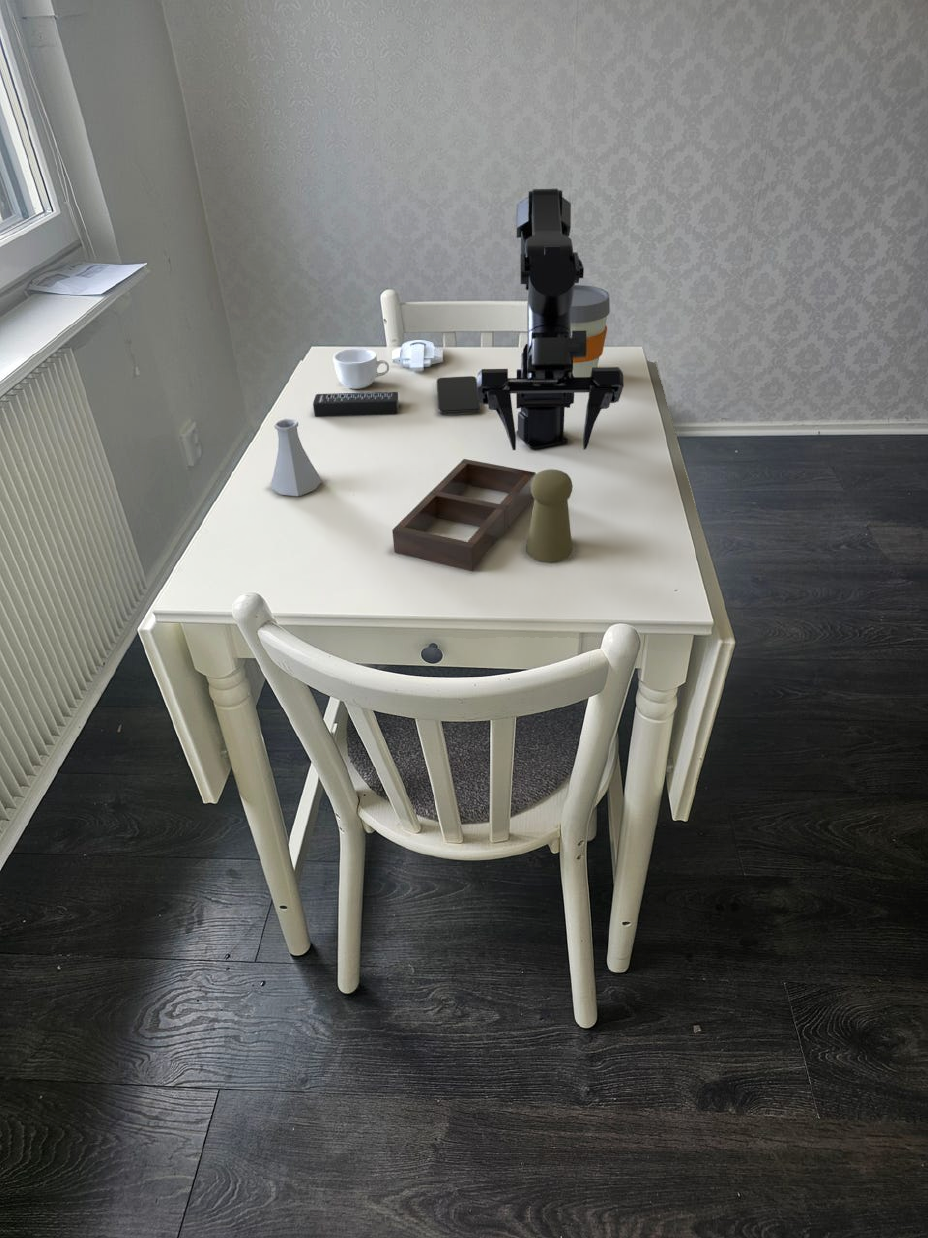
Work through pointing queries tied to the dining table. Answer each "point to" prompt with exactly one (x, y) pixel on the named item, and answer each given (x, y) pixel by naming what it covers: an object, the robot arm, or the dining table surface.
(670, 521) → the dining table surface
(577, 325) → the reusable coffee cup
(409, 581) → the dining table surface
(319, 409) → the multiport hub
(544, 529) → the olive pawn
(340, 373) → the teacup
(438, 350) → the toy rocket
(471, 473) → the frame
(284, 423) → the flask
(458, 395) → the smartphone
